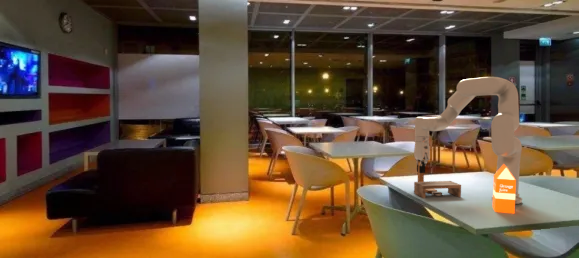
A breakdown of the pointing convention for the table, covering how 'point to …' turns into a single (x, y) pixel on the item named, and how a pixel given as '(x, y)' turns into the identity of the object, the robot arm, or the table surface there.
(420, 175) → the brown l-shaped piece
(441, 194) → the token
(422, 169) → the robot arm
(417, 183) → the wooden shelf stand
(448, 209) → the table surface
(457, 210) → the table surface
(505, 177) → the orange juice
